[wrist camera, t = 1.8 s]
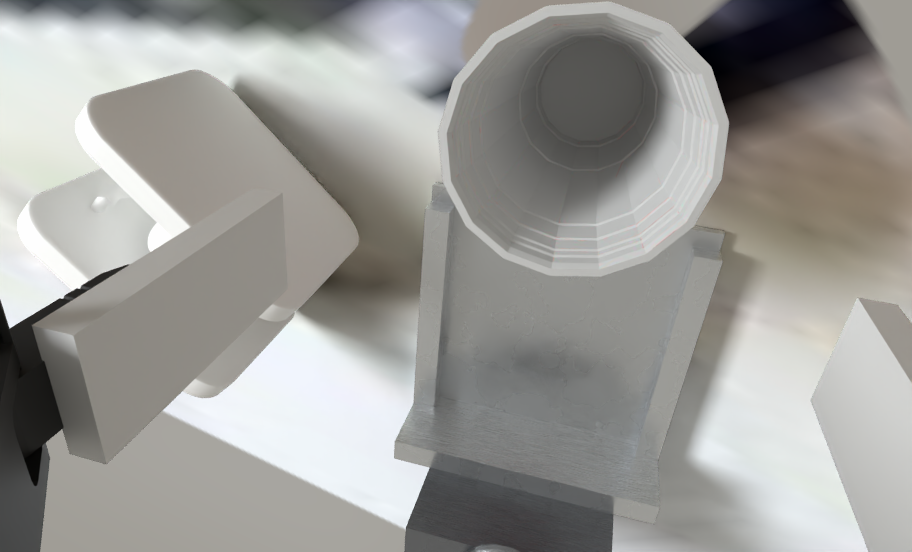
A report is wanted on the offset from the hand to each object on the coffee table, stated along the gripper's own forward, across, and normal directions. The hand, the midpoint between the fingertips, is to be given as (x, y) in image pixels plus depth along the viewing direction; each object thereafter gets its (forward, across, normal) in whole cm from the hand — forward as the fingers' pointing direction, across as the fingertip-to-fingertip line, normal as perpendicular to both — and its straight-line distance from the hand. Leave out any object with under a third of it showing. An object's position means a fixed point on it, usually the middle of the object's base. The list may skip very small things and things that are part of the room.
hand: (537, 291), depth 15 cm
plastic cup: (+22, 0, 0) cm, 23 cm away
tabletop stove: (+22, 0, -17) cm, 28 cm away
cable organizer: (+23, -21, -10) cm, 32 cm away
